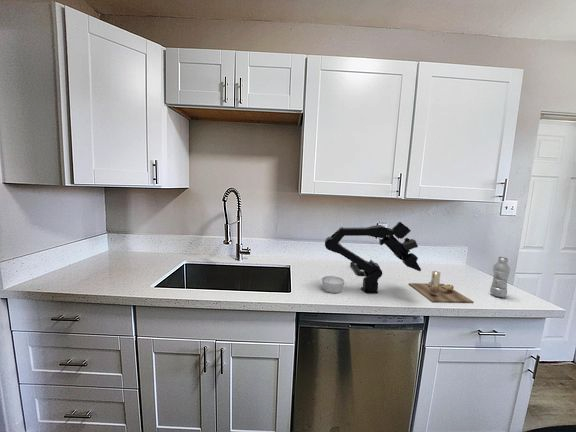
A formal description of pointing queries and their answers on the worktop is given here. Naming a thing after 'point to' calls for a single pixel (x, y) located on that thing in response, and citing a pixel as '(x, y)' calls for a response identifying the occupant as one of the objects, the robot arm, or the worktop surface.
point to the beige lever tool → (434, 282)
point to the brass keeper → (448, 288)
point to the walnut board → (440, 294)
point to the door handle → (357, 269)
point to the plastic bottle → (500, 278)
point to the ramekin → (332, 284)
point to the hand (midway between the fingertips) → (416, 267)
